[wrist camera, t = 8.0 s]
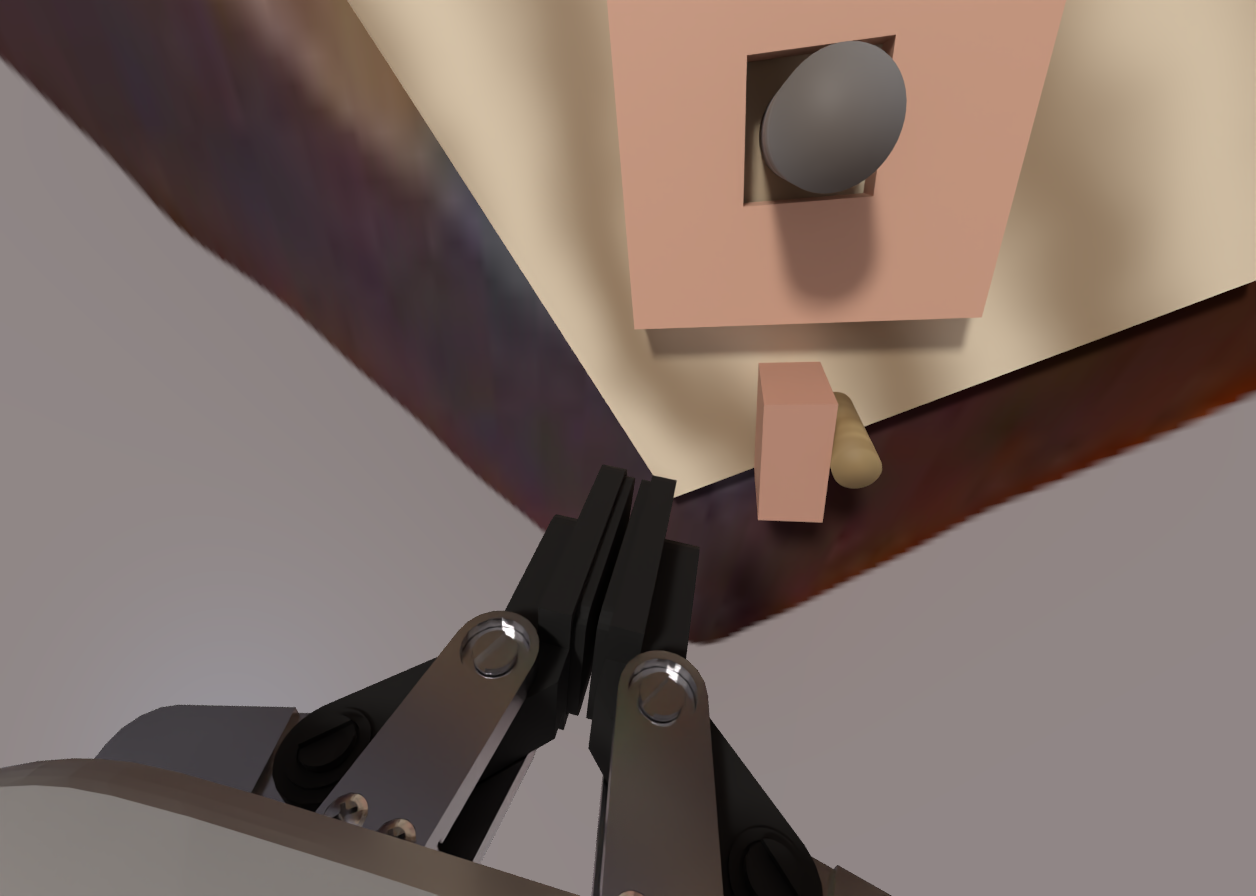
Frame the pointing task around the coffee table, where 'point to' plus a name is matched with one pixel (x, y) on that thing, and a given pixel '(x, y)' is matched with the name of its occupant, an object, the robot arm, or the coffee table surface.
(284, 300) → the coffee table surface
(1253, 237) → the post board
